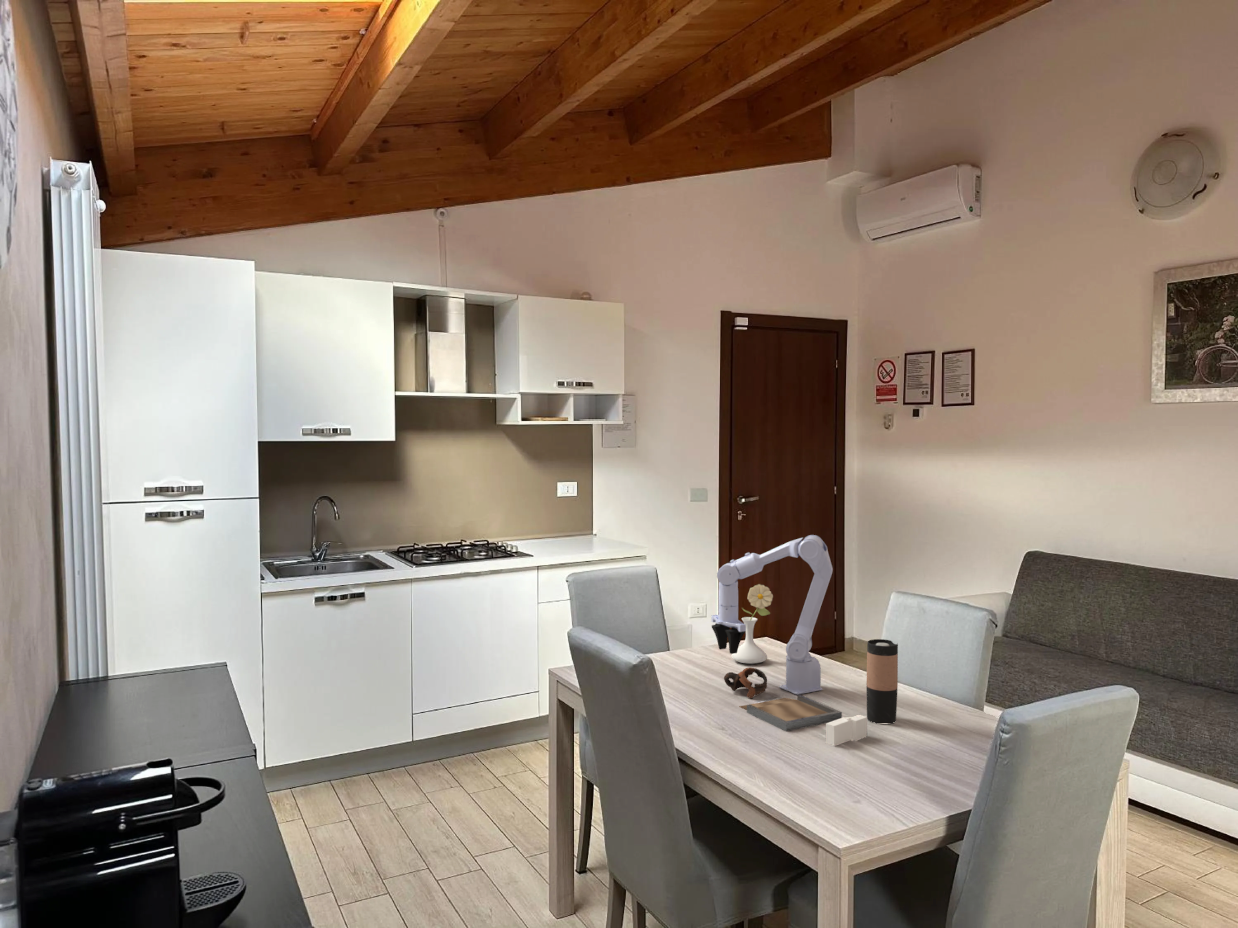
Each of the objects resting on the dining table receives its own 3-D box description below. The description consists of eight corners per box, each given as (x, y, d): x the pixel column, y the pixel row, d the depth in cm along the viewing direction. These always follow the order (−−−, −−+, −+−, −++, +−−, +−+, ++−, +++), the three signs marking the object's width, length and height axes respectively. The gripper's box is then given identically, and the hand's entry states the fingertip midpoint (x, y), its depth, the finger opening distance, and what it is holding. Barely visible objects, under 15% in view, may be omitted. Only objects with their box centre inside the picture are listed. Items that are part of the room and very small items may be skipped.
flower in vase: (728, 664, 278) (728, 585, 276) (734, 655, 288) (734, 579, 287) (770, 668, 274) (770, 588, 273) (774, 658, 285) (775, 581, 283)
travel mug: (862, 721, 225) (864, 644, 224) (869, 712, 232) (870, 637, 231) (893, 726, 221) (895, 647, 220) (899, 717, 228) (900, 640, 227)
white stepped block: (824, 751, 206) (824, 727, 206) (812, 733, 217) (812, 711, 217) (888, 750, 206) (888, 726, 206) (873, 733, 218) (873, 710, 217)
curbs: (800, 701, 241) (800, 694, 241) (841, 719, 226) (841, 711, 226) (746, 712, 232) (746, 704, 232) (786, 731, 218) (786, 723, 218)
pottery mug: (759, 689, 254) (768, 668, 250) (761, 712, 246) (771, 691, 242) (719, 678, 254) (728, 657, 250) (720, 702, 245) (729, 681, 241)
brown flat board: (785, 700, 245) (785, 694, 245) (835, 721, 227) (835, 715, 227) (738, 709, 237) (738, 703, 237) (786, 732, 219) (786, 725, 219)
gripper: (702, 601, 262) (702, 646, 262) (731, 610, 249) (731, 658, 250) (722, 599, 265) (722, 644, 266) (751, 608, 252) (751, 655, 253)
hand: (728, 650), depth 258 cm, fingers open, 5 cm apart
